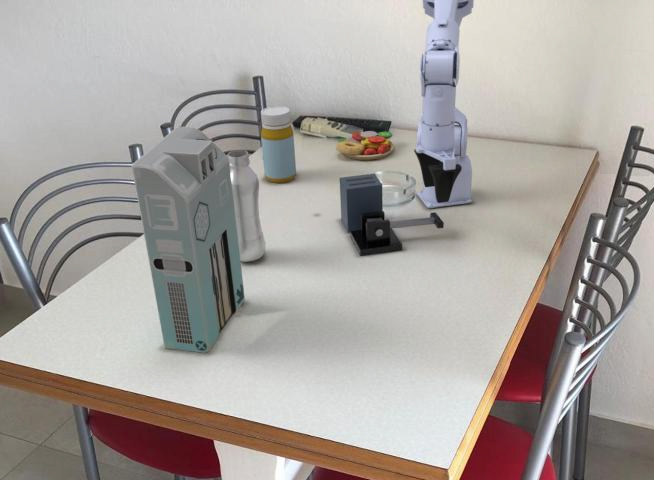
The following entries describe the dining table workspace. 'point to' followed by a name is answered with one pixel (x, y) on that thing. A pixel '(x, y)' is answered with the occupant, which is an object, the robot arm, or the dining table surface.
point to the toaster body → (359, 199)
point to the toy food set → (366, 145)
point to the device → (190, 237)
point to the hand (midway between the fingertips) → (436, 193)
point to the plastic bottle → (246, 206)
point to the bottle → (278, 145)
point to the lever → (414, 221)
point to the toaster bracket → (375, 235)
